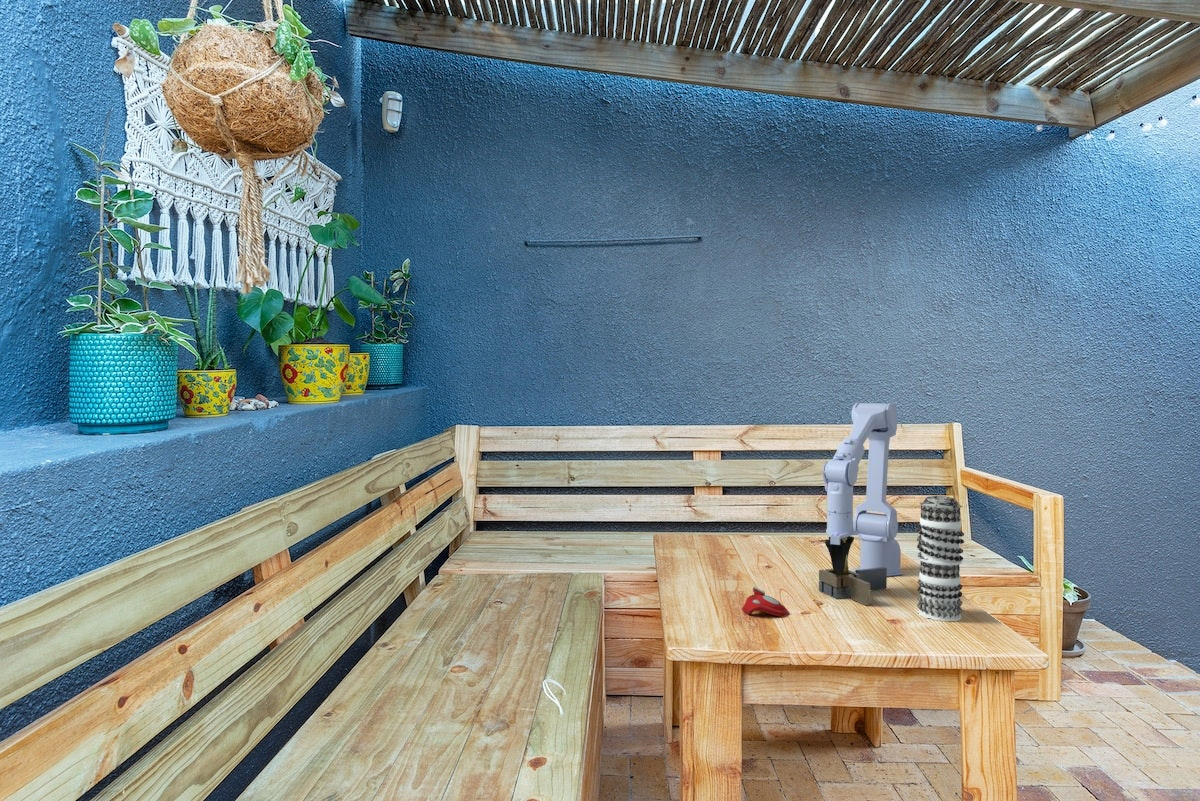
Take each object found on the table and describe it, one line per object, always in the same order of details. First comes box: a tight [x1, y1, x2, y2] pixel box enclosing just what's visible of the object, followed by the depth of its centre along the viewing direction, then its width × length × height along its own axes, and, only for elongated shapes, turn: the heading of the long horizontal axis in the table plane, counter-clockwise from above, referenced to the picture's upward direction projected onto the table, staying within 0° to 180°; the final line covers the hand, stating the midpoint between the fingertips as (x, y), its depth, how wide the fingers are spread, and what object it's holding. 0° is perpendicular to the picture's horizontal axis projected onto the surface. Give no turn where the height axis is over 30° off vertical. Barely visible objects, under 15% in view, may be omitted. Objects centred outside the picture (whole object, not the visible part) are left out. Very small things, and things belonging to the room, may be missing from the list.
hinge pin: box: [836, 537, 849, 575], centre depth 168 cm, size 4×4×9 cm
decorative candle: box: [915, 495, 965, 622], centre depth 152 cm, size 9×9×25 cm
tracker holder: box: [741, 585, 788, 618], centre depth 156 cm, size 12×4×10 cm
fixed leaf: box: [818, 567, 888, 600], centre depth 170 cm, size 16×7×5 cm, turn 109°
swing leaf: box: [818, 568, 871, 606], centre depth 165 cm, size 13×7×5 cm, turn 19°
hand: (839, 569), depth 168 cm, fingers closed on hinge pin, 3 cm apart
